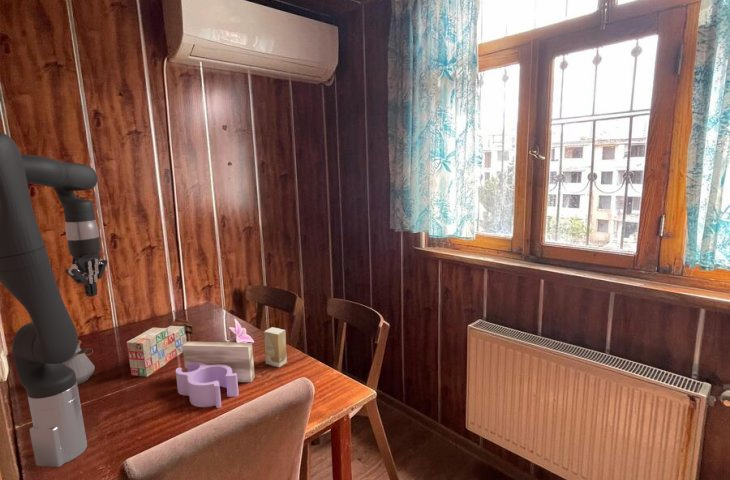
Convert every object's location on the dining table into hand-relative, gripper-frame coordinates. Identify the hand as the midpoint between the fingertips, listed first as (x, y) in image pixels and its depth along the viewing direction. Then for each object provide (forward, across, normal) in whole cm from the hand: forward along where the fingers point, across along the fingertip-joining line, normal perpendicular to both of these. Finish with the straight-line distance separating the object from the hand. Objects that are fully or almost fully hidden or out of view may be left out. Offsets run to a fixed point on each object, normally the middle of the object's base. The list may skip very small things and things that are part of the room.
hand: (92, 295), depth 116 cm
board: (+32, +12, -30) cm, 46 cm away
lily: (+32, +37, -27) cm, 56 cm away
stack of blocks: (+32, +23, -2) cm, 40 cm away
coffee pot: (+32, +6, +14) cm, 36 cm away
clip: (+32, +4, -30) cm, 44 cm away
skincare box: (+32, +24, -45) cm, 60 cm away
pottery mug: (+32, +45, +3) cm, 55 cm away
